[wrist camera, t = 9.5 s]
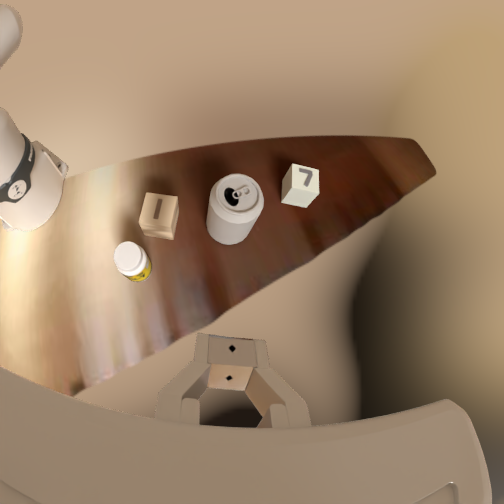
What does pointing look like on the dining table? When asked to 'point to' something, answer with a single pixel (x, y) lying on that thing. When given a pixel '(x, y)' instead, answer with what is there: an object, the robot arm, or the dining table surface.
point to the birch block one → (159, 215)
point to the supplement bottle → (132, 261)
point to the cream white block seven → (300, 185)
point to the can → (233, 208)
